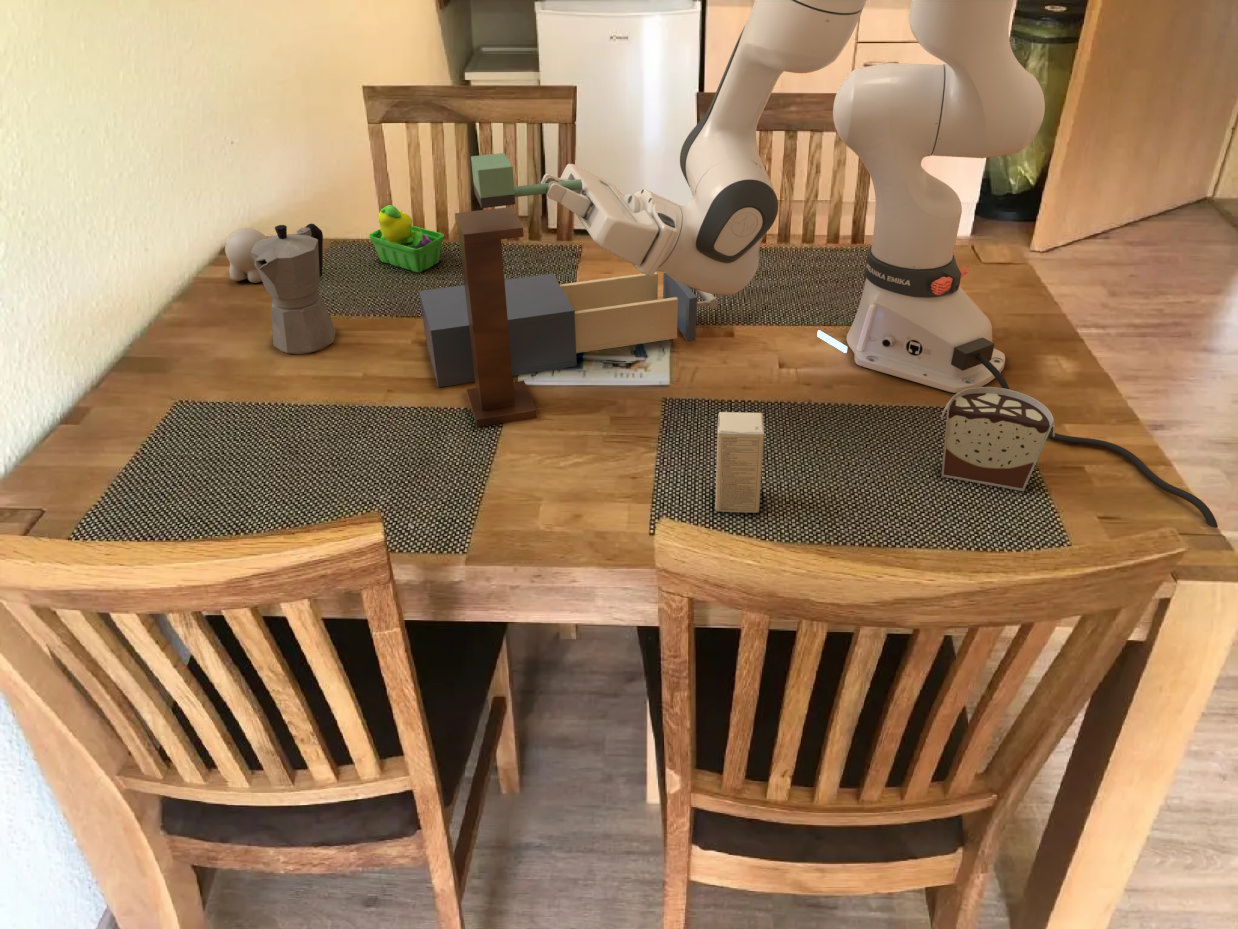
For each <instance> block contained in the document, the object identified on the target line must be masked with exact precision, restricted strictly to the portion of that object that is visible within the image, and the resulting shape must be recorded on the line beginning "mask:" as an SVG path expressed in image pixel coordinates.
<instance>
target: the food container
mask: <svg viewBox="0 0 1238 929" xmlns="http://www.w3.org/2000/svg"><path fill="white" fill-rule="evenodd" d="M1009 389H1010V388H1009ZM1009 389H1004V388H1001V387H995V386H982V387H976V388H970V389H966V390H963V391H960V392H959V393H954V395H953V396H952V397H951V398H950V400H948V402H947V403H946V404H945V407H944V409H943V411H942V412H941V415H940V419H943V418H944V416H945V414H946V422H945V430H944V431H945V432H944V444H943V455H942V465H941V477H942V478H948V479H954V480H958V481H964V482H969V483H975V484H981V485H986V486H993V487H997V488H1004V489H1009V490H1015V491H1020V492H1025V489H1026V488H1027V485H1028V483H1029V480H1030V479H1031V476H1032V475H1033V471H1034V469H1035V467H1036V466H1037V463H1038V460H1039V458H1040V456H1041V453H1042V451H1043V449H1044V447H1045V444H1046V441H1047V439H1048V438H1047V437H1048V435H1049V433H1050V431H1051V432H1052V435H1053V437H1055V433H1056V425H1055V421H1054V420H1055V419H1054V416H1053V414H1052V412H1051V411H1050V409H1049V408H1048V407H1047V406H1046V405H1045V404H1044V403H1042V402H1041V401H1039V400H1037V399H1036V398H1034V397H1032V396H1030V395H1028V394H1025V393H1022V392H1020V391H1017V390H1012V389H1010V390H1009Z"/></svg>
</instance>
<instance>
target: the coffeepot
mask: <svg viewBox="0 0 1238 929" xmlns="http://www.w3.org/2000/svg"><path fill="white" fill-rule="evenodd" d="M287 228H288V225H285V224H279V225H278V224H277V225H276V226H274V231H275V232H276V235H272V236H269V237H266V238H267V239H264V240H261V241H258V242H256V243H255V245H254V247H253V249H252V250H251V255H252V257H253V260H254V262H255V267H256V268H257V270H258V272H259V274H260V277H261V279H262V281H261V282H262V284H263V286H264V289H265V291H266V293H267V294H268V295H269V296H271V302H272V304H271V321H272V322H271V323H272V344H273V345H272V346H274V347H275V348H276V349H277V350H278V351H280V352H283V353H286V354H292V355H303V354H311V353H314V352H318V351H321V350H323V349H326V348H327V347H329V346H330V345H331V344H332V343H333V342H334V341H335V339H336V338H335V336H336V332H337V331H336V329H335V325H334V324H333V321H332V318H331V316H330V313H329V311H328V308H327V306H326V302H325V301H324V298H323V296H322V295H321V294H320V291H319V288H320V283H321V279H320V278H321V277H322V276H323V265H324V264H323V263H324V262H323V260H324V257H323V255H324V254H323V252H324V251H323V250H324V248H323V244H324V235H323V234H324V233H323V230H321V228H319V227H318V226H317V225H316V224H315V223H308V224H307V225H306V226H304V227H300V228H299V229H297V230H296V233H289V234H288V229H287Z"/></svg>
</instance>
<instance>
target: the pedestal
mask: <svg viewBox="0 0 1238 929" xmlns="http://www.w3.org/2000/svg"><path fill="white" fill-rule="evenodd" d="M454 221H455V225H456V226H457V229H458V240H459V247H460V248H459V249H460V257H461V258H460V259H461V267H462V274H463V275H462V276H463V285H464V286H465V295H466V304H467V313H468V322H469V331H470V341H471V350H472V359H473V368H474V377H475V382H474V384H475V387H472V388H466V390H465V391H466V392H465V393H466V399H467V401H468V404H469V407H470V412H471V414H472V416H473V420H474V424H475V427H476V428H481V427H486V426H492V425H499V424H506V423H512V422H517V421H523V420H529V419H535V418H538V411H537V408H536V406H535V403H534V400H533V399H532V396H531V394H530V391H529V389H528V387H527V384H526V382H525V380H524V379H523V380H517V381H514V378H513V377H514V376H512V364H511V352H510V340H509V328H508V316H507V304H506V292H505V280H506V279H505V270H504V256H503V247H502V246H503V245H502V240H509V239H517V238H524V237H525V234H524V226H523V224H522V222H521V221H520V219H519V218H518V216H517V214H516V212H515V211H514V209H513V207H512V206H505V207H496V208H487V209H480V210H472V211H471V210H470V211H461V212H454Z"/></svg>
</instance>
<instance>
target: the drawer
mask: <svg viewBox="0 0 1238 929" xmlns="http://www.w3.org/2000/svg"><path fill="white" fill-rule="evenodd" d="M662 275H663V279H662V280H663V282H662V283H663V284H662V298H660V299H659V298H658V297H659V296H658V293H659V291H658V290H659V289H658V288H659V273H658V271H656V272H655V273H654V275H653V276H648V275H645V274H643V273H636V274H635V273H634V274H628V275H621V276H613V277H605V278H598V279H590V280H582V281H575V282H569V283H568V282H567V283H559V284H560V286H561V288H562V290H563V291H564V293H565V295H566V296H567V298H568V300H569V302H570V303H571V305H572V307H573V309H574V310H575V333H576V354H580V353H587V352H593V351H601V350H607V349H615V348H621V347H627V346H634V345H640V344H647V343H653V342H661V341H668V340H674V339H678V330H679V332H680V333H681V334H682V336H683V337H684V339H686V341H687V342H693V341H696V338H697V336H696V335H697V316H698V314H697V313H698V312H697V311H698V308H701V307H709V309H716V308H717V307H718V305H719V300H718V299H717V298H716V297H715V296H714V294H710V293H706V292H703V291H700V290H697V289H694V288H692V287H689V286H687V285H684V284H682V283H679V282H677V281H675V280H673V279H672V278H671V277H670V276H669V275H668V274H666V273H664V272H663V274H662ZM693 290H695V292H697V294H698V295H699V296H700V297H701V298H702V300H700V301H698V297H697V295H696V294H695V292H693Z"/></svg>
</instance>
